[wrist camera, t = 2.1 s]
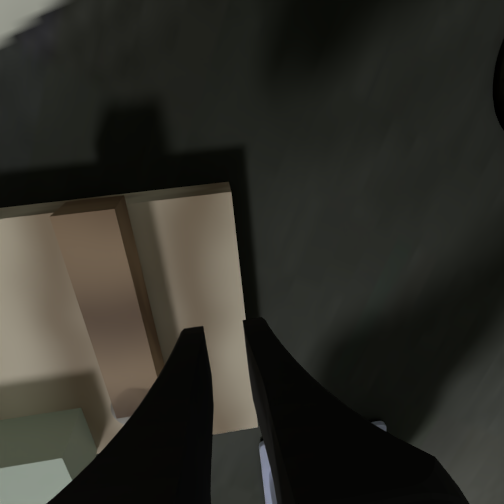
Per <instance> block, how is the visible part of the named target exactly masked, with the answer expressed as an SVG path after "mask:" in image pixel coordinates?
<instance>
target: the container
mask: <svg viewBox="0 0 504 504" xmlns="http://www.w3.org/2000/svg"><path fill="white" fill-rule="evenodd" d="M493 100H494V108H495V113H496V116H497V118H498V121H499V123H500V125H501V127H502V128H503V130H504V43H503V45H502V48H501V50H500V53H499V56H498V60H497V64H496V68H495V74H494V82H493Z"/></svg>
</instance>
